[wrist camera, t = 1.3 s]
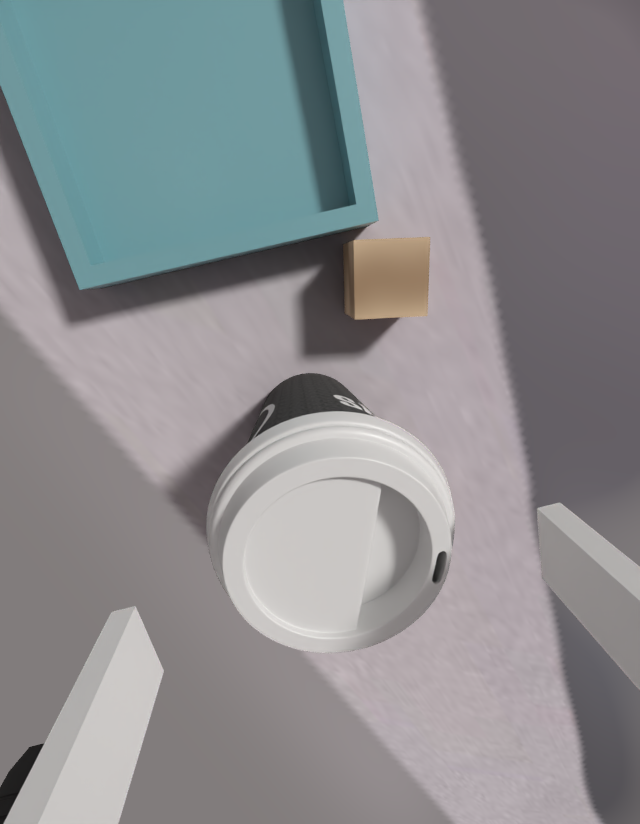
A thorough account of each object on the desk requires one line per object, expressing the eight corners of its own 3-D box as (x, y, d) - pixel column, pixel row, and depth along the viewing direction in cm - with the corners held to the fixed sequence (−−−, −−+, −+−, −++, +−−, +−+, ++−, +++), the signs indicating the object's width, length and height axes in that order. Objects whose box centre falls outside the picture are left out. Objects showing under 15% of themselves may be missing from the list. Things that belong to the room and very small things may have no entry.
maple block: (342, 244, 26) (353, 240, 22) (408, 242, 26) (430, 237, 22) (344, 312, 27) (354, 319, 23) (407, 309, 27) (427, 315, 24)
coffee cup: (336, 505, 31) (384, 701, 17) (213, 449, 29) (150, 619, 15) (406, 391, 29) (529, 506, 15) (279, 322, 27) (279, 378, 13)
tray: (-27, -60, 20) (-77, -114, 17) (306, -133, 20) (311, -198, 18) (101, 287, 25) (79, 289, 22) (367, 226, 26) (378, 220, 23)
